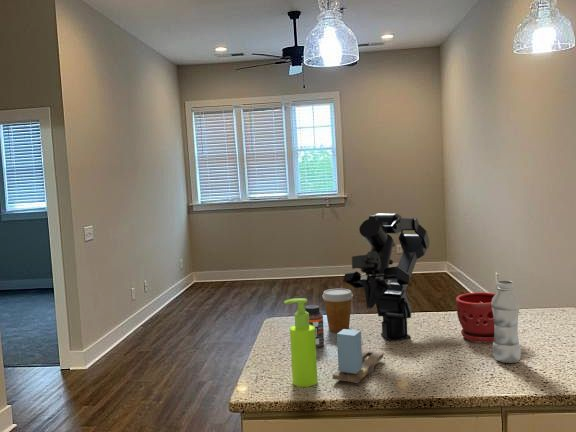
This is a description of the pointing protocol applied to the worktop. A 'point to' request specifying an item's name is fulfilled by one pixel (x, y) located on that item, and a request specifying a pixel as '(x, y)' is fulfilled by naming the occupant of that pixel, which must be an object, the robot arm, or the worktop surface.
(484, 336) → the plant pot
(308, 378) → the soap dispenser
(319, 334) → the supplement bottle
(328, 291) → the disposable coffee cup
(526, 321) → the worktop surface
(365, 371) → the slotted wooden board
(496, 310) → the plastic bottle
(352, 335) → the rider
